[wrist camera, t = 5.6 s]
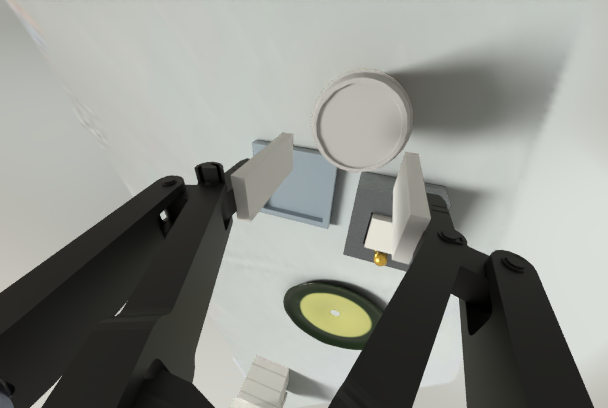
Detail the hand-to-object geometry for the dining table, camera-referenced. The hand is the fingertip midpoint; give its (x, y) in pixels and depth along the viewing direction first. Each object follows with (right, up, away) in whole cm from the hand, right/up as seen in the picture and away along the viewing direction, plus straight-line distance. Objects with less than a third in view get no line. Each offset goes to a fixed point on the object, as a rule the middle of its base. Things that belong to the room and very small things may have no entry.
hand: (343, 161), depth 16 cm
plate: (+6, -31, +46) cm, 56 cm away
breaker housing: (+12, -5, +23) cm, 27 cm away
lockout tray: (-4, +1, +26) cm, 26 cm away
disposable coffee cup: (+6, +11, +15) cm, 19 cm away
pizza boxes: (-16, -79, +88) cm, 119 cm away
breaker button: (+12, -5, +23) cm, 26 cm away
